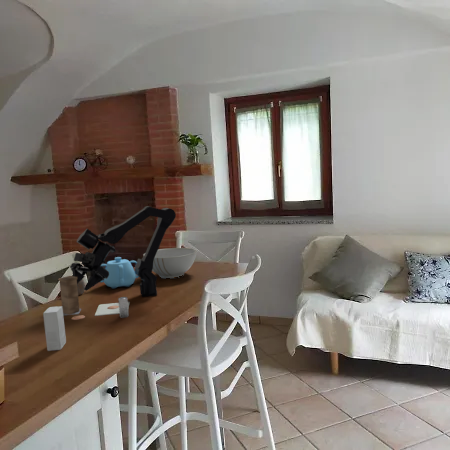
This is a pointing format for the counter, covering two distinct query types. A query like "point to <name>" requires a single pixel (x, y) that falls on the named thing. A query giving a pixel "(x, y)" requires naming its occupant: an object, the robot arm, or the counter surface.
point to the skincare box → (54, 328)
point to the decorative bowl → (173, 261)
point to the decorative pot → (119, 273)
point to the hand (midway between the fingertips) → (78, 288)
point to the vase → (81, 287)
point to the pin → (123, 307)
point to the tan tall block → (69, 294)
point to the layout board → (101, 310)
